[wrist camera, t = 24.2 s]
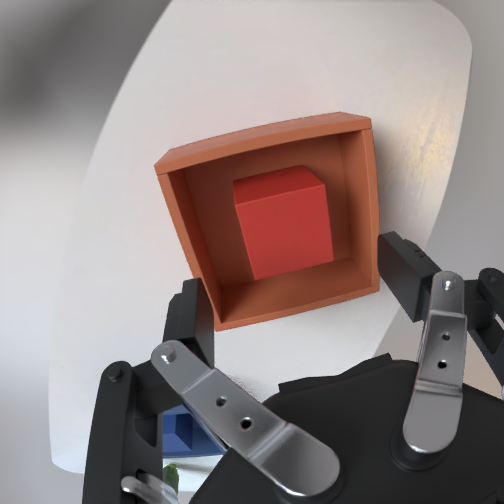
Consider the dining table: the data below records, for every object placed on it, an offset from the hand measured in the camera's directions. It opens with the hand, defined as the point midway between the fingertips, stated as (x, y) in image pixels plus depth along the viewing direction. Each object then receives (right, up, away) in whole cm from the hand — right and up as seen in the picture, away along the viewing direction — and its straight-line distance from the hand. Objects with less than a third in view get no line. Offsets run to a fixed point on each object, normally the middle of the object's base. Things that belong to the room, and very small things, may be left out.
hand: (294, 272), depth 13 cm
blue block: (-11, -17, +17) cm, 27 cm away
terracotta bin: (0, +4, +7) cm, 8 cm away
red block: (0, +4, +7) cm, 8 cm away
